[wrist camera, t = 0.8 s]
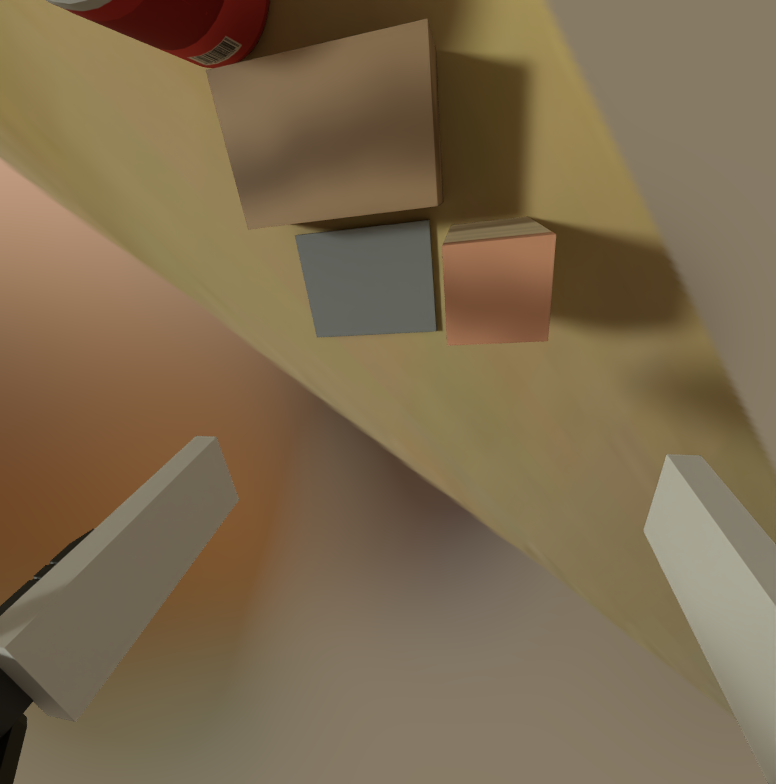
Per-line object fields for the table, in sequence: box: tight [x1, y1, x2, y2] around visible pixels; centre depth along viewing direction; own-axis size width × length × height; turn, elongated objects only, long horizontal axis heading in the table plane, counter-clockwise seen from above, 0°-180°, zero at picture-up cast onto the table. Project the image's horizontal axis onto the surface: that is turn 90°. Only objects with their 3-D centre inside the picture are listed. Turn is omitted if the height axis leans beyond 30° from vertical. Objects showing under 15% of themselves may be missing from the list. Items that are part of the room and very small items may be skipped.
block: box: [442, 216, 556, 345], centre depth 23 cm, size 5×5×10 cm
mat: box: [295, 220, 437, 337], centre depth 29 cm, size 8×10×1 cm
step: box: [206, 19, 443, 229], centre depth 23 cm, size 8×12×5 cm, turn 97°
